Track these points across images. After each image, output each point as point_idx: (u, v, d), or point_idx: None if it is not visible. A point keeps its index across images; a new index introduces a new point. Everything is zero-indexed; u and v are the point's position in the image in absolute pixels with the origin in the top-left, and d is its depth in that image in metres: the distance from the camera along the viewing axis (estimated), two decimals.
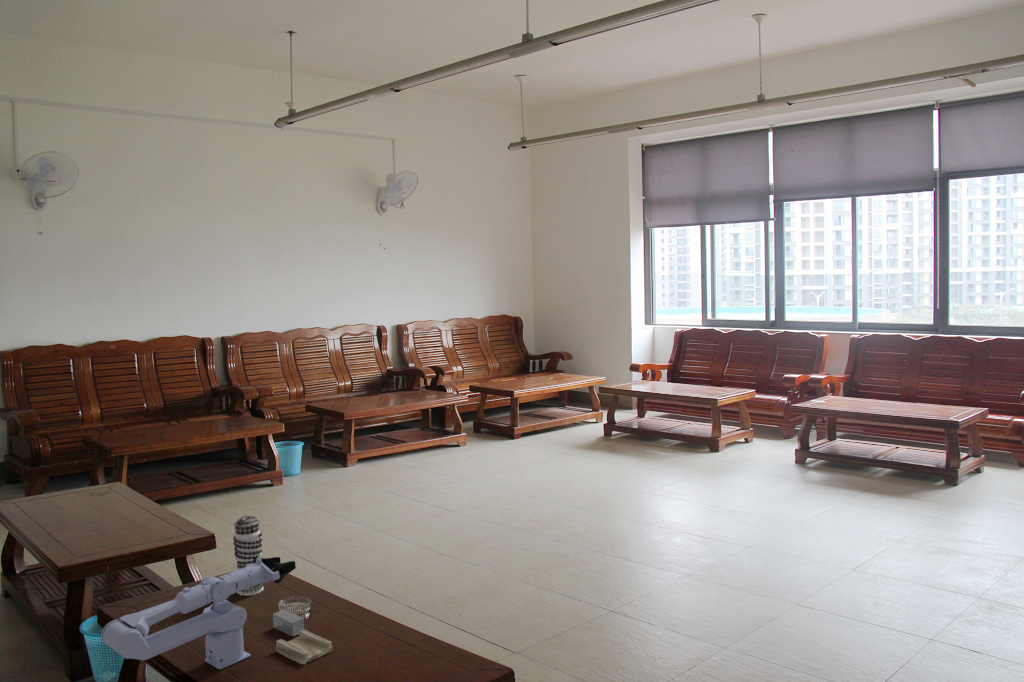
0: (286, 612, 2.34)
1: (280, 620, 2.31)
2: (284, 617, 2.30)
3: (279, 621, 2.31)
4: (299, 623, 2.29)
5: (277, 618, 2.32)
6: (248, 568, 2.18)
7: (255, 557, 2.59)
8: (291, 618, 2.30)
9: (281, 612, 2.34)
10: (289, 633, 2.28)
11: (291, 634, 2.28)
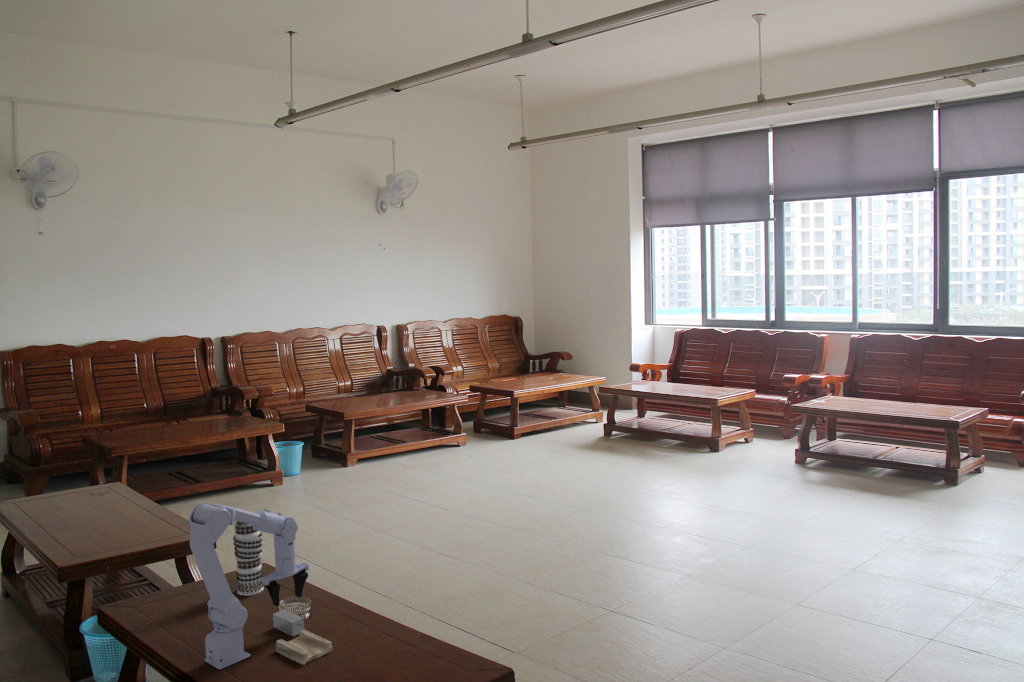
0: (286, 612, 2.34)
1: (280, 620, 2.31)
2: (284, 617, 2.30)
3: (279, 621, 2.31)
4: (299, 623, 2.29)
5: (277, 618, 2.32)
6: None
7: (255, 557, 2.59)
8: (291, 618, 2.30)
9: (281, 612, 2.34)
10: (289, 633, 2.28)
11: (291, 634, 2.28)
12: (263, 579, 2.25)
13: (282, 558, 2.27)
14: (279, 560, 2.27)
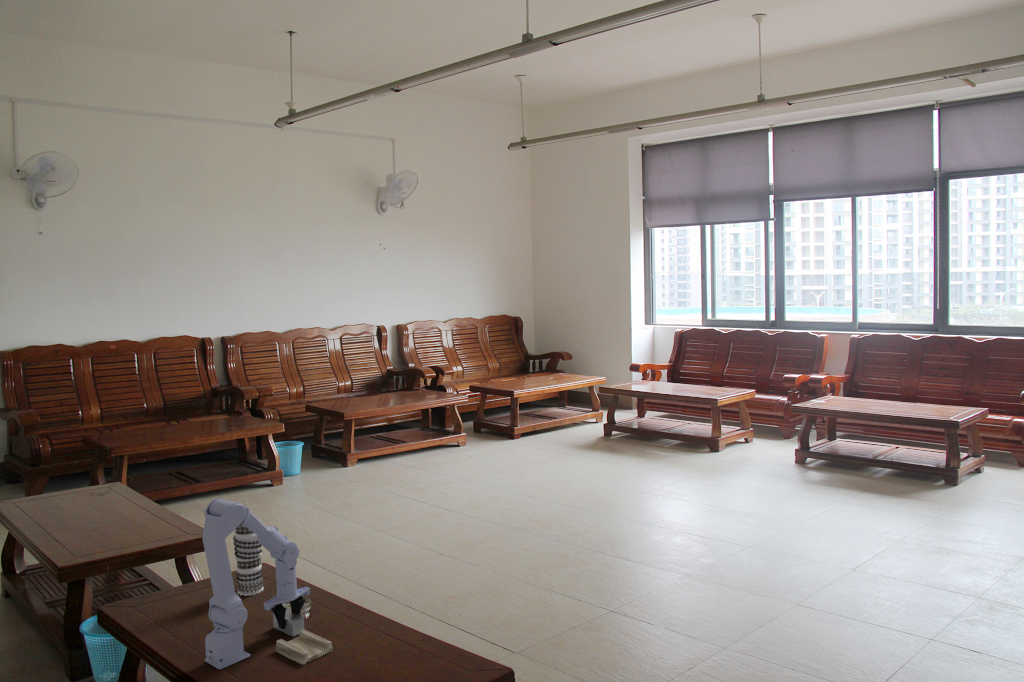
0: (286, 611, 2.34)
1: None
2: (285, 617, 2.30)
3: None
4: (299, 623, 2.29)
5: None
6: None
7: (255, 557, 2.59)
8: (291, 618, 2.30)
9: None
10: (289, 632, 2.28)
11: (291, 633, 2.28)
12: (264, 604, 2.26)
13: (283, 583, 2.28)
14: (280, 585, 2.28)
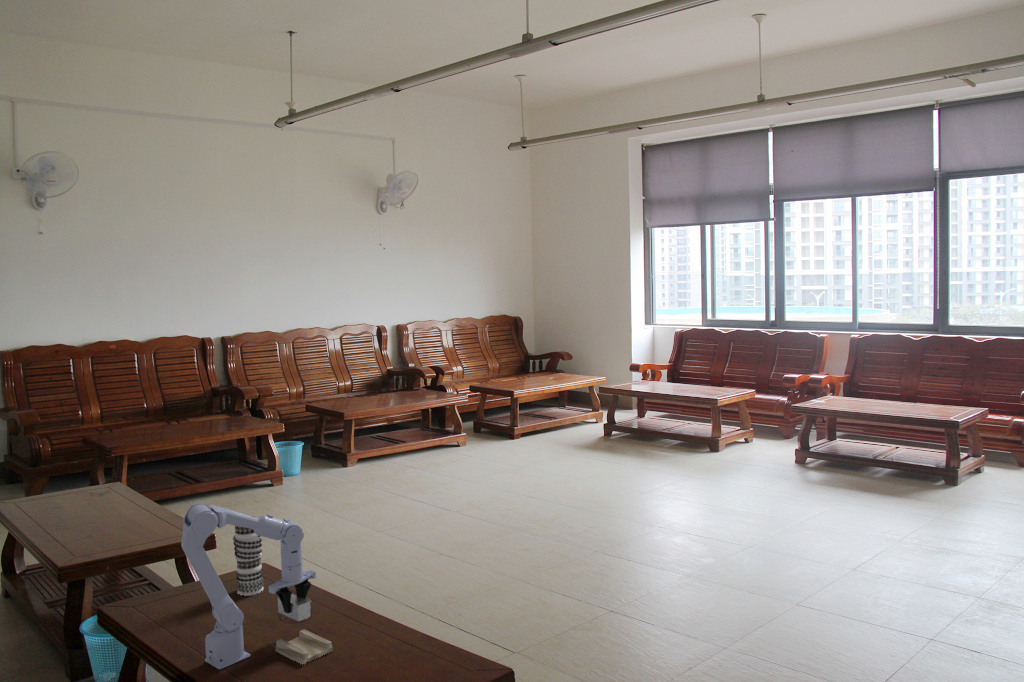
0: (291, 595, 2.27)
1: None
2: (290, 601, 2.24)
3: None
4: (305, 607, 2.22)
5: None
6: None
7: (255, 557, 2.59)
8: (296, 601, 2.23)
9: None
10: (294, 617, 2.22)
11: (297, 618, 2.21)
12: (269, 587, 2.19)
13: (285, 566, 2.21)
14: (286, 568, 2.21)
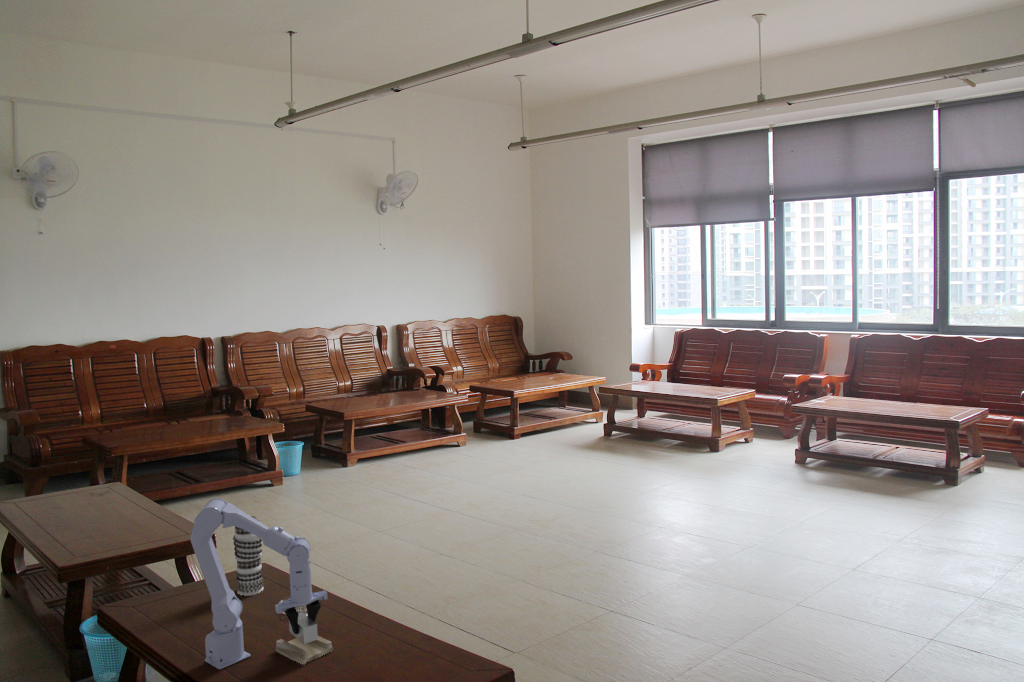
0: (302, 615, 2.20)
1: None
2: (298, 621, 2.17)
3: None
4: (312, 629, 2.14)
5: None
6: None
7: (255, 557, 2.59)
8: (304, 623, 2.16)
9: None
10: (301, 638, 2.14)
11: (302, 640, 2.13)
12: (276, 607, 2.13)
13: (291, 585, 2.15)
14: (293, 587, 2.14)
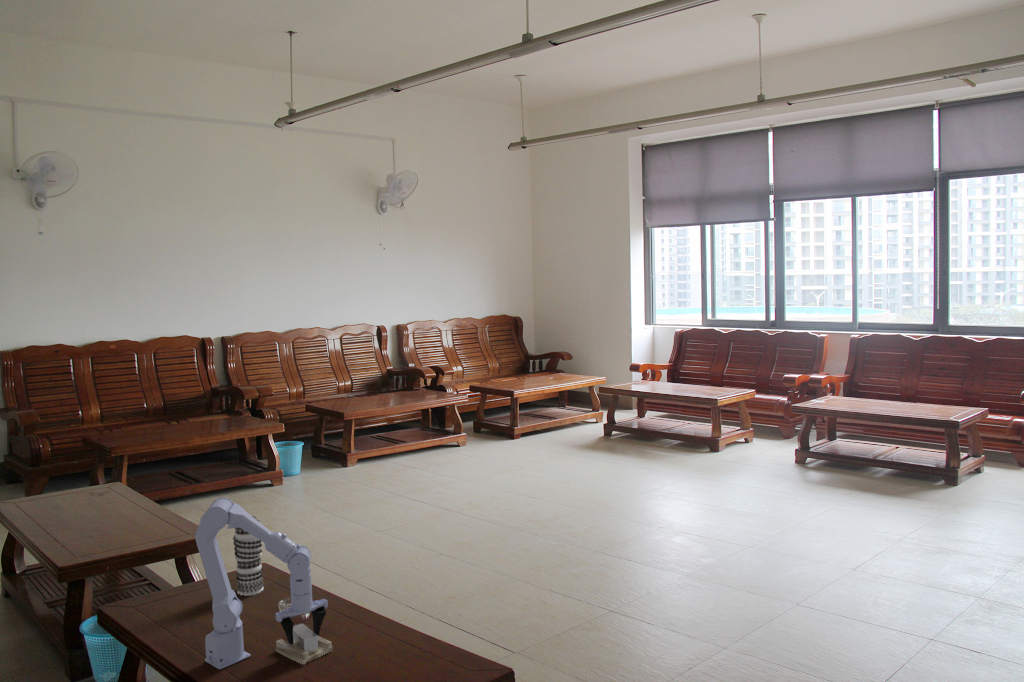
0: (303, 627, 2.21)
1: (295, 635, 2.18)
2: (299, 633, 2.17)
3: (293, 636, 2.18)
4: (312, 641, 2.15)
5: (293, 632, 2.19)
6: None
7: (255, 557, 2.59)
8: (305, 634, 2.16)
9: (298, 626, 2.21)
10: None
11: None
12: (276, 615, 2.13)
13: (292, 593, 2.15)
14: (294, 596, 2.15)
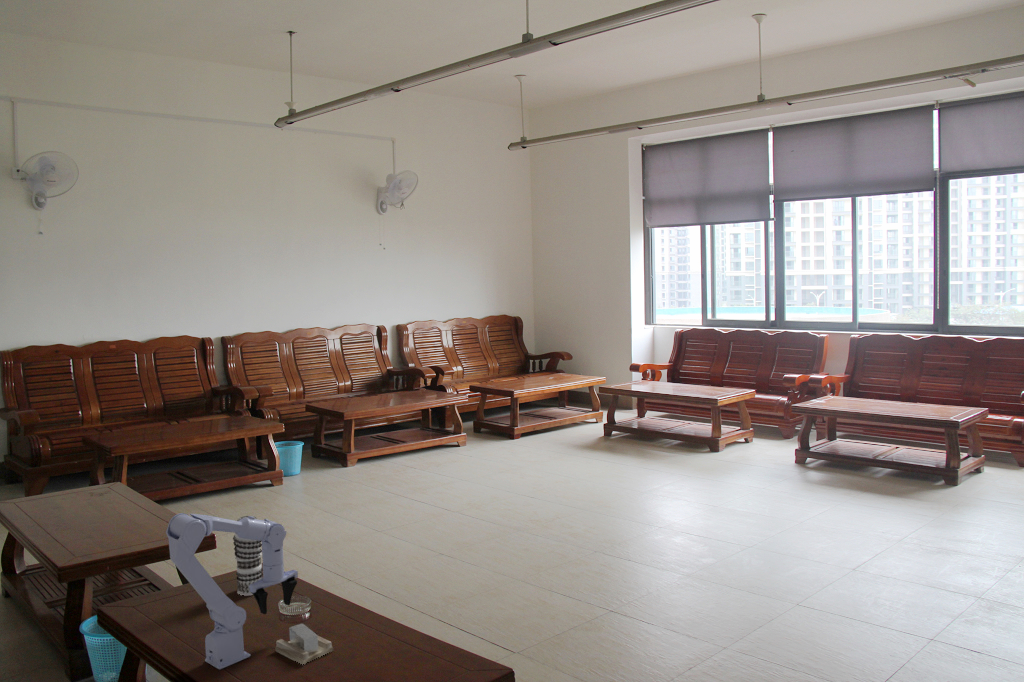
0: (303, 627, 2.21)
1: (295, 635, 2.18)
2: (299, 633, 2.17)
3: (293, 636, 2.18)
4: (312, 641, 2.15)
5: (293, 632, 2.19)
6: None
7: (255, 557, 2.59)
8: (305, 634, 2.16)
9: (298, 626, 2.21)
10: None
11: None
12: (250, 586, 2.19)
13: (268, 565, 2.21)
14: (267, 567, 2.21)
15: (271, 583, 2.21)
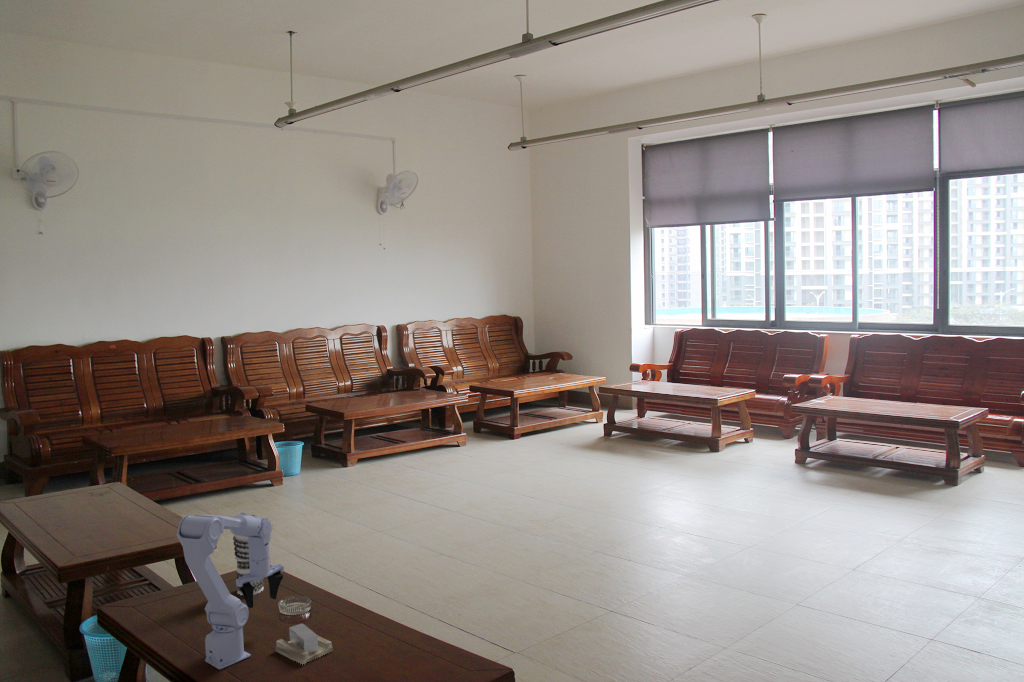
0: (303, 627, 2.21)
1: (295, 635, 2.18)
2: (299, 633, 2.17)
3: (293, 636, 2.18)
4: (312, 641, 2.15)
5: (293, 632, 2.19)
6: None
7: None
8: (305, 634, 2.16)
9: (298, 626, 2.21)
10: None
11: None
12: (237, 581, 2.23)
13: (259, 559, 2.25)
14: (253, 561, 2.25)
15: (257, 577, 2.25)
